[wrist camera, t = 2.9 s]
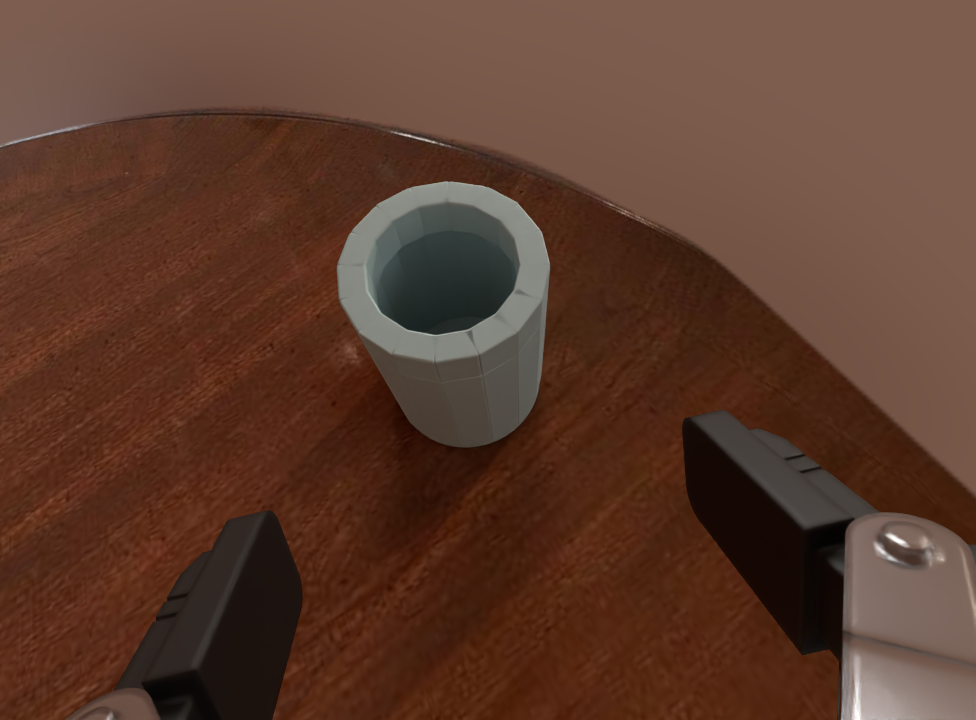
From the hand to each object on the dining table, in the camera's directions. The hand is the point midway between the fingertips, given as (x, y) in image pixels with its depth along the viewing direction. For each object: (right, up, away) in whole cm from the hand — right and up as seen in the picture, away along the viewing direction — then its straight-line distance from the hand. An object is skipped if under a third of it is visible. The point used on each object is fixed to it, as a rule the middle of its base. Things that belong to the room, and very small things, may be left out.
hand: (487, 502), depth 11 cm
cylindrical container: (-1, +2, +14) cm, 15 cm away
